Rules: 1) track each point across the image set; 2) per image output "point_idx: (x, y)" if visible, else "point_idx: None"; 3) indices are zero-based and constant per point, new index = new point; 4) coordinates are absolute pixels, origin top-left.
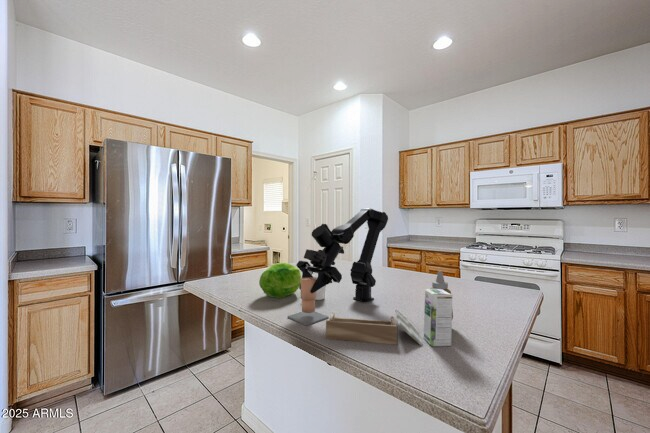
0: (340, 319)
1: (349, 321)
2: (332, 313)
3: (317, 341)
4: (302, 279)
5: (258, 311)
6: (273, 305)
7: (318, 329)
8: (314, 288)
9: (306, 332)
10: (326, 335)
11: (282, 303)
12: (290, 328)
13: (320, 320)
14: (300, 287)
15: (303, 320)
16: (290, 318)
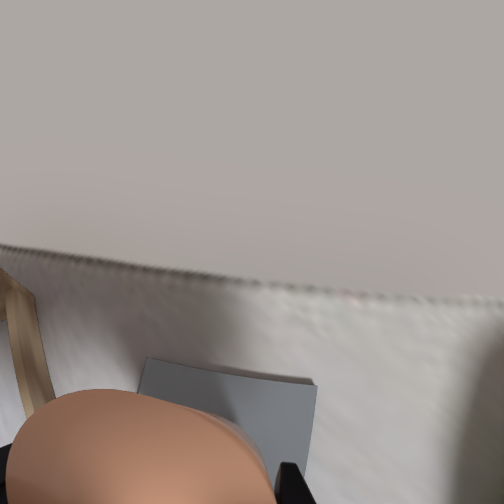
0: None
1: None
2: None
3: (51, 262)
4: (179, 438)
5: (480, 334)
6: (497, 438)
7: (84, 354)
8: None
9: (113, 299)
10: (25, 290)
11: (486, 490)
12: (198, 291)
13: None
14: (280, 472)
15: (194, 391)
16: (289, 383)
